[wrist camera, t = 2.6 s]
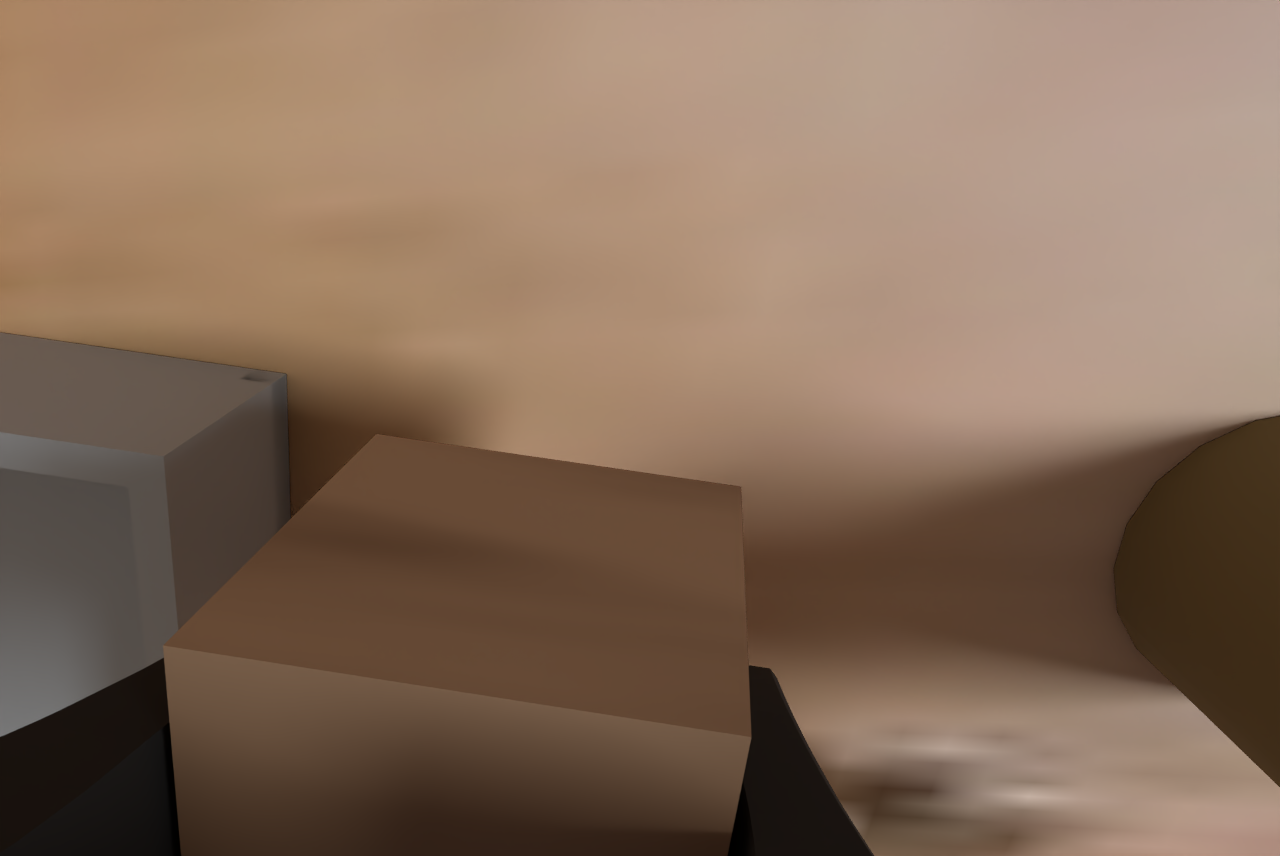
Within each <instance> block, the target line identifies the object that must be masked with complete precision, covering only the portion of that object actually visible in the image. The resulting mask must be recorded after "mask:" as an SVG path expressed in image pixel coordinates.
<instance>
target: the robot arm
mask: <svg viewBox="0 0 1280 856" xmlns="http://www.w3.org/2000/svg"><path fill="white" fill-rule="evenodd" d="M749 690H750V714H751V742H750V747H749V752H748V757H747V762H746V767H745V772H744V777H743V781H742V786H741V791H740V796H739V801H738V806H737V811H736V816H735V821H734V826H733V831H732V836H731V841H730V846H729V851H728V856H874V855H873V853H872V852H871V850H870V849H869V847H868V846H867V844H866V843H865V841H864V839H863V838H862V836H861V835H860V833H859V832H858V830H857V829H856V827H855V826H854V824H853V823H852V821H851V819H850V818H849V816H848V814H847V813H846V811H845V810H844V808H843V806H842V805H841V803H840V801H839V800H838V798H837V796H836V794H835V793H834V791H833V789H832V787H831V786H830V784H829V782H828V780H827V779H826V777H825V775H824V773H823V772H822V770H821V768H820V766H819V765H818V763H817V761H816V759H815V757H814V755H813V754H812V752H811V750H810V748H809V746H808V744H807V742H806V740H805V738H804V736H803V734H802V732H801V730H800V728H799V726H798V724H797V722H796V720H795V718H794V716H793V714H792V712H791V710H790V707H789V705H788V703H787V701H786V699H785V696H784V694H783V692H782V689H781V687H780V685H779V682H778V680H777V678H776V676H775V675H774V673H773V672H772V671H771V669H769V668H762V667H756V666H749ZM0 856H181V848H180V837H179V825H178V814H177V802H176V791H175V779H174V768H173V756H172V745H171V733H170V722H169V710H168V698H167V687H166V675H165V664H164V658H162V659H160V660H158V661H157V662H155V663H153V664H151V665H149V666H147V667H145V668H144V669H142V670H140V671H138V672H136V673H134V674H132V675H130V676H128V677H126V678H124V679H122V680H120V681H118V682H116V683H114V684H112V685H110V686H108V687H106V688H104V689H102V690H100V691H98V692H96V693H94V694H92V695H90V696H88V697H86V698H84V699H82V700H80V701H78V702H75V703H73V704H71V705H69V706H67V707H65V708H63V709H61V710H59V711H57V712H55V713H53V714H51V715H49V716H46V717H44V718H42V719H40V720H38V721H36V722H33V723H31V724H29V725H26V726H24V727H22V728H20V729H17V730H15V731H13V732H10V733H8V734H6V735H3V736H1V737H0Z"/></svg>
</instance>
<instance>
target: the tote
mask: <svg viewBox="0 0 1280 856" xmlns="http://www.w3.org/2000/svg"><path fill="white" fill-rule="evenodd" d="M290 519H291V515H290V480H289V444H288V409H287V374H284V373H277V372H270V371H264V370H257V369H250V368H243V367H236V366H229V365H222V364H215V363H208V362H201V361H194V360H187V359H180V358H174V357H167V356H160V355H153V354H146V353H139V352H132V351H125V350H118V349H111V348H104V347H97V346H90V345H83V344H77V343H70V342H63V341H56V340H49V339H42V338H35V337H28V336H21V335H14V334H7V333H0V737H1V736H3V735H6V734H8V733H10V732H13V731H15V730H17V729H20V728H22V727H24V726H26V725H29V724H31V723H33V722H36V721H38V720H40V719H42V718H44V717H46V716H49V715H51V714H53V713H55V712H57V711H59V710H61V709H63V708H65V707H67V706H69V705H71V704H73V703H75V702H78V701H80V700H82V699H84V698H86V697H88V696H90V695H92V694H94V693H96V692H98V691H100V690H102V689H104V688H106V687H108V686H110V685H112V684H114V683H116V682H118V681H120V680H122V679H124V678H126V677H128V676H130V675H132V674H134V673H136V672H138V671H140V670H142V669H144V668H145V667H147V666H149V665H151V664H153V663H155V662H157V661H158V660H160V659H162V658H164V652H163V645H164V644H165V643H166V642H167V641H168V640H169V639H170V638H171V637H172V636H173V635H174V634H175V633H176V632H177V631H178V630H179V629H180V628H181V627H182V626H183V625H184V624H185V623H186V622H187V621H188V620H189V619H190V618H191V617H192V616H193V615H194V614H195V613H196V612H197V611H198V610H199V609H200V608H201V607H202V606H203V605H204V604H205V603H206V602H207V601H208V600H209V599H210V598H211V597H212V596H213V595H214V594H215V593H216V592H217V591H218V590H219V589H220V588H221V587H222V586H223V585H224V584H225V583H226V582H227V581H228V580H229V579H230V578H232V577H233V576H234V575H235V574H236V573H237V572H238V571H239V570H240V569H241V568H242V567H243V566H244V565H245V564H246V563H247V562H248V561H249V560H250V559H251V558H252V557H253V556H254V555H255V554H256V553H257V552H258V551H259V550H260V549H261V548H262V547H263V546H264V545H265V544H266V543H267V542H268V541H269V540H270V539H271V538H272V537H273V536H274V535H275V534H276V533H277V532H278V531H279V530H280V529H281V528H282V527H283V526H284V525H285V524H286V523H287V522H288V521H289V520H290Z"/></svg>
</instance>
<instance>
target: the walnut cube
mask: <svg viewBox="0 0 1280 856" xmlns="http://www.w3.org/2000/svg"><path fill="white" fill-rule="evenodd" d="M163 652H164V664H165V675H166V687H167V698H168V710H169V722H170V733H171V745H172V756H173V768H174V779H175V791H176V802H177V814H178V825H179V837H180V848H181V856H728V851H729V846H730V841H731V836H732V831H733V826H734V821H735V816H736V811H737V806H738V801H739V796H740V791H741V786H742V781H743V777H744V772H745V767H746V762H747V757H748V752H749V747H750V742H751V714H750V690H749V665H748V641H747V617H746V592H745V568H744V544H743V519H742V495H741V487H739V486H732V485H726V484H719V483H712V482H705V481H698V480H691V479H684V478H677V477H670V476H663V475H656V474H650V473H643V472H636V471H629V470H622V469H615V468H608V467H601V466H594V465H587V464H580V463H574V462H567V461H560V460H553V459H546V458H539V457H532V456H525V455H518V454H511V453H504V452H498V451H491V450H484V449H477V448H470V447H463V446H456V445H449V444H442V443H435V442H428V441H422V440H415V439H408V438H401V437H394V436H387V435H380V434H376V435H375V436H374V437H373V438H372V439H371V440H370V441H369V442H368V443H367V444H366V445H365V446H364V447H363V448H362V449H361V450H360V451H359V452H358V453H357V454H356V455H355V456H353V457H352V458H351V459H350V460H349V461H348V462H347V463H346V464H345V465H344V466H343V467H342V468H341V469H340V470H339V471H338V472H337V473H336V474H335V475H334V476H333V477H332V478H331V479H330V480H329V481H328V482H327V483H326V484H325V485H324V486H323V487H322V488H321V489H320V490H319V491H318V492H317V493H316V494H315V495H314V496H313V497H312V498H311V499H310V500H309V501H308V502H307V503H306V504H305V505H304V506H303V507H302V508H301V509H300V510H299V511H298V512H297V513H296V514H295V515H294V516H293V517H292V518H291V519H290V520H289V521H288V522H287V523H286V524H285V525H284V526H283V527H282V528H281V529H280V530H279V531H278V532H277V533H276V534H275V535H274V536H273V537H272V538H271V539H270V540H269V541H268V542H267V543H266V544H265V545H264V546H263V547H262V548H261V549H260V550H259V551H258V552H257V553H256V554H255V555H254V556H253V557H252V558H251V559H250V560H249V561H248V562H247V563H246V564H245V565H244V566H243V567H242V568H241V569H240V570H239V571H238V572H237V573H236V574H235V575H234V576H233V577H232V578H230V579H229V580H228V581H227V582H226V583H225V584H224V585H223V586H222V587H221V588H220V589H219V590H218V591H217V592H216V593H215V594H214V595H213V596H212V597H211V598H210V599H209V600H208V601H207V602H206V603H205V604H204V605H203V606H202V607H201V608H200V609H199V610H198V611H197V612H196V613H195V614H194V615H193V616H192V617H191V618H190V619H189V620H188V621H187V622H186V623H185V624H184V625H183V626H182V627H181V628H180V629H179V630H178V631H177V632H176V633H175V634H174V635H173V636H172V637H171V638H170V639H169V640H168V641H167V642H166V643H165V644H164V645H163Z"/></svg>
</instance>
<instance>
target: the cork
mask: <svg viewBox="0 0 1280 856" xmlns="http://www.w3.org/2000/svg"><path fill="white" fill-rule="evenodd" d="M1114 579H1115V592H1116V604H1117V612H1118V614H1119V616H1120V618H1121V620H1122V622H1123V624H1124V626H1125V628H1126V630H1127V632H1128V633H1129V635H1130V637H1131V639H1132V641H1133V643H1134V645H1135V647H1136V649H1137V650H1139V651H1140V652H1141V653H1142V654H1143V655H1144V656H1145V657H1146V658H1147V659H1148V660H1149V661H1150V662H1151V663H1152V664H1153V665H1154V666H1155V667H1156V668H1157V669H1158V670H1159V671H1160V672H1161V673H1162V674H1163V675H1164V676H1165V677H1166V678H1167V679H1168V680H1170V681H1171V682H1172V683H1173V684H1174V685H1175V686H1176V687H1177V688H1178V689H1179V690H1180V691H1181V692H1182V693H1183V694H1184V695H1185V696H1186V697H1187V698H1188V699H1189V700H1190V701H1191V702H1192V703H1193V704H1194V705H1195V706H1196V707H1197V708H1198V709H1199V710H1201V711H1202V712H1203V713H1204V714H1205V715H1206V716H1207V717H1208V718H1209V719H1210V720H1211V721H1212V722H1213V723H1214V724H1215V725H1216V726H1217V727H1218V728H1219V729H1220V730H1221V731H1222V732H1223V733H1224V734H1225V735H1226V736H1227V737H1228V738H1229V739H1230V740H1232V741H1233V742H1234V743H1235V744H1236V745H1237V746H1238V747H1239V748H1240V749H1241V750H1242V751H1243V752H1244V753H1245V754H1246V755H1247V756H1248V757H1249V758H1250V759H1251V760H1252V761H1253V762H1254V763H1255V764H1256V765H1257V766H1258V767H1259V768H1260V769H1261V770H1263V771H1264V772H1265V773H1266V774H1267V775H1268V776H1269V777H1270V778H1271V779H1272V780H1273V781H1274V782H1275V783H1276V784H1277V785H1278V786H1279V787H1280V416H1279V417H1273V418H1268V419H1262V420H1257V421H1254V422H1252V423H1250V424H1247V425H1245V426H1243V427H1241V428H1239V429H1237V430H1234V431H1232V432H1230V433H1228V434H1226V435H1224V436H1221V437H1219V438H1217V439H1215V440H1213V441H1211V442H1208V443H1206V444H1204V445H1202V446H1200V447H1199V448H1198V449H1197V450H1195V451H1194V452H1193V453H1192V454H1190V455H1189V456H1188V457H1187V458H1186V459H1184V460H1183V461H1182V462H1181V463H1179V464H1178V465H1177V466H1176V467H1175V468H1173V469H1172V470H1171V471H1170V472H1168V473H1167V474H1166V475H1165V476H1164V477H1162V478H1161V479H1160V480H1159V481H1157V482H1156V484H1155V485H1154V487H1153V488H1152V490H1151V491H1150V492H1149V494H1148V495H1147V497H1146V498H1145V500H1144V501H1143V502H1142V504H1141V505H1140V507H1139V508H1138V510H1137V511H1136V512H1135V514H1134V515H1133V517H1132V518H1131V520H1130V521H1129V522H1128V524H1127V526H1126V530H1125V533H1124V536H1123V540H1122V543H1121V546H1120V550H1119V553H1118V556H1117V560H1116V563H1115V566H1114Z"/></svg>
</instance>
